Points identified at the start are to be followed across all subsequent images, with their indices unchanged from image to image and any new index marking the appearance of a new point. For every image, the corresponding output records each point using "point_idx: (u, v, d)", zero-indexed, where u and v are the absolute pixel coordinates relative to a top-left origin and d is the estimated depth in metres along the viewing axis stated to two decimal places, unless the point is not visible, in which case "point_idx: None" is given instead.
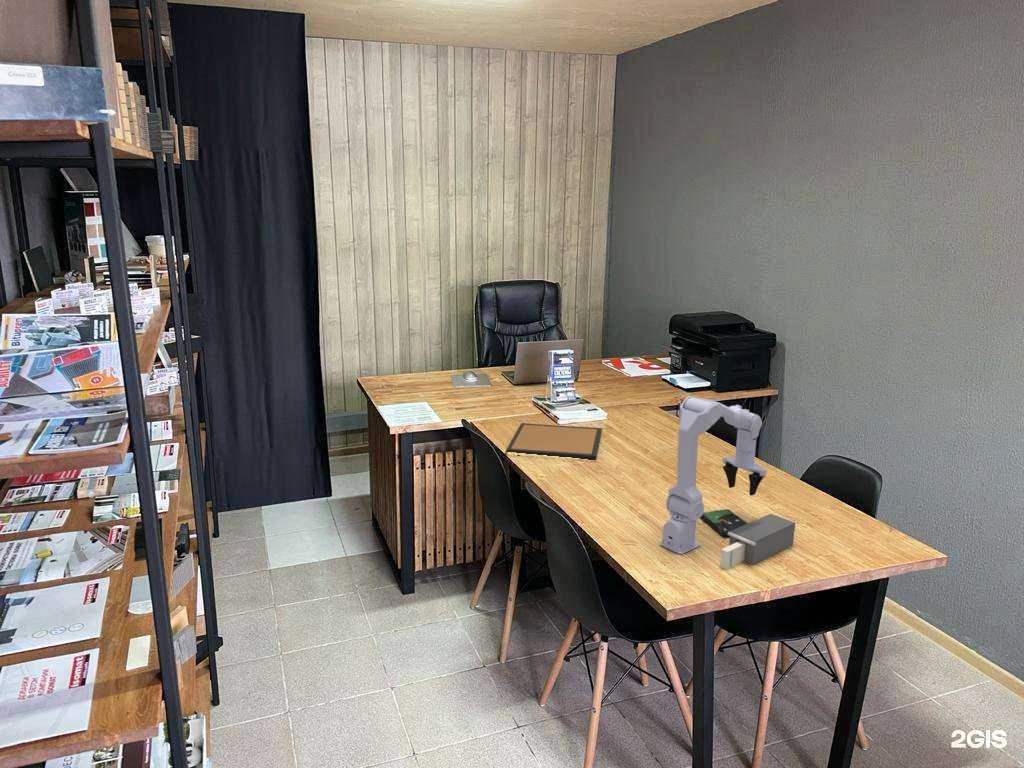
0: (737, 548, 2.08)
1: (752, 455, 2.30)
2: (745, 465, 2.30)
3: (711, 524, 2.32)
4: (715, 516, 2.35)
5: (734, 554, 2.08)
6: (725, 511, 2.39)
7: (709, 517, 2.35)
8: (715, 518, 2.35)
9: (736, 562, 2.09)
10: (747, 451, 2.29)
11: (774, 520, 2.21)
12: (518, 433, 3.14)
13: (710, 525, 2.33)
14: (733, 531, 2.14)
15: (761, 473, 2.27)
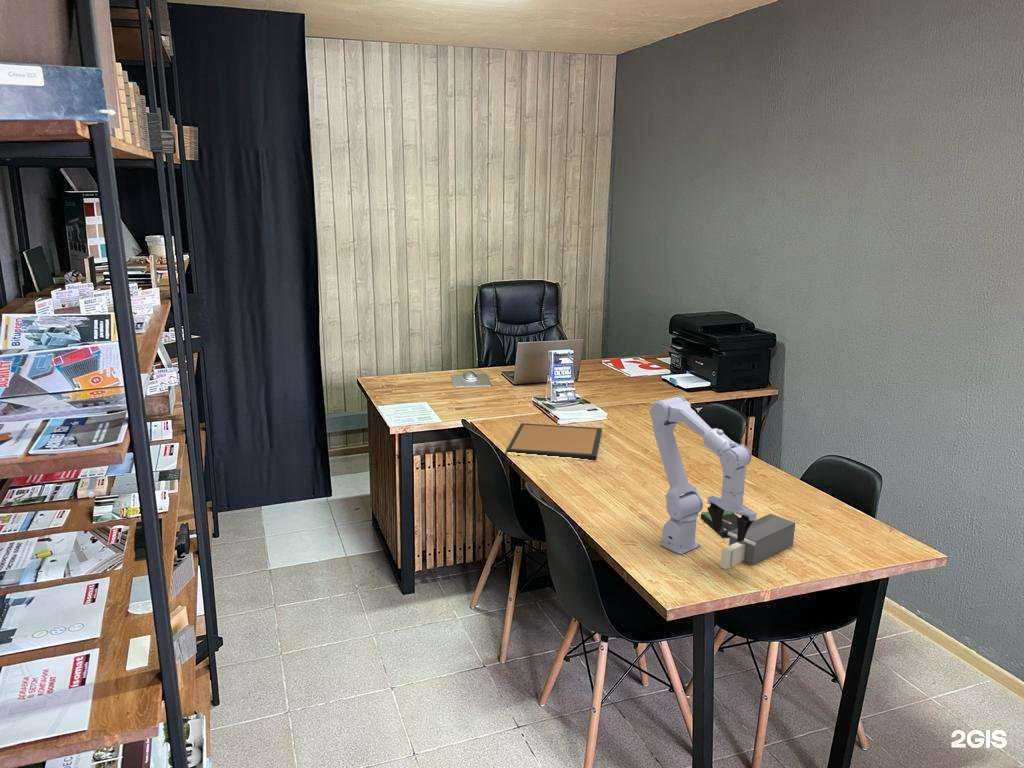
0: (737, 548, 2.08)
1: (740, 496, 2.01)
2: (732, 507, 2.01)
3: (711, 523, 2.32)
4: None
5: (734, 554, 2.08)
6: (726, 511, 2.39)
7: (709, 517, 2.35)
8: None
9: (736, 562, 2.09)
10: (722, 487, 2.03)
11: (774, 520, 2.21)
12: (518, 433, 3.14)
13: (710, 525, 2.33)
14: (733, 531, 2.14)
15: (750, 517, 1.98)
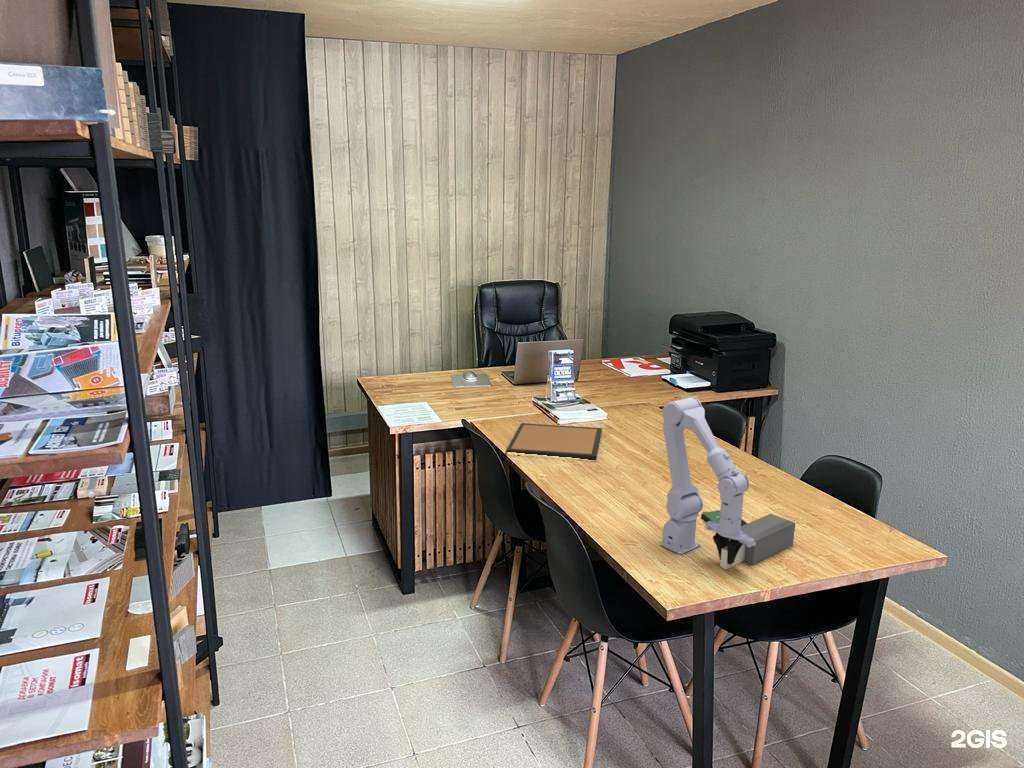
0: None
1: (738, 523, 2.03)
2: (730, 534, 2.03)
3: None
4: (716, 516, 2.35)
5: None
6: None
7: (709, 517, 2.35)
8: (716, 517, 2.35)
9: (736, 561, 2.09)
10: (720, 513, 2.05)
11: (774, 520, 2.21)
12: (518, 433, 3.14)
13: None
14: None
15: (748, 544, 2.00)
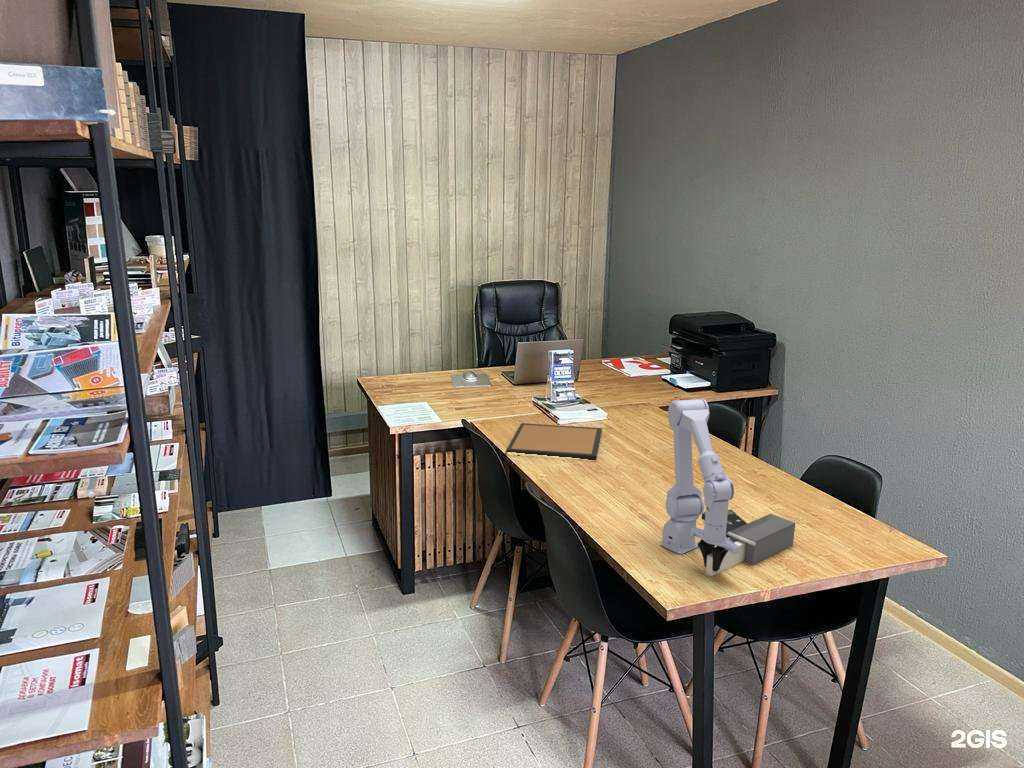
0: None
1: (723, 529, 1.99)
2: (715, 540, 1.99)
3: None
4: None
5: None
6: None
7: None
8: None
9: (722, 568, 2.06)
10: None
11: (774, 520, 2.21)
12: (518, 433, 3.14)
13: None
14: (733, 531, 2.14)
15: (733, 551, 1.96)
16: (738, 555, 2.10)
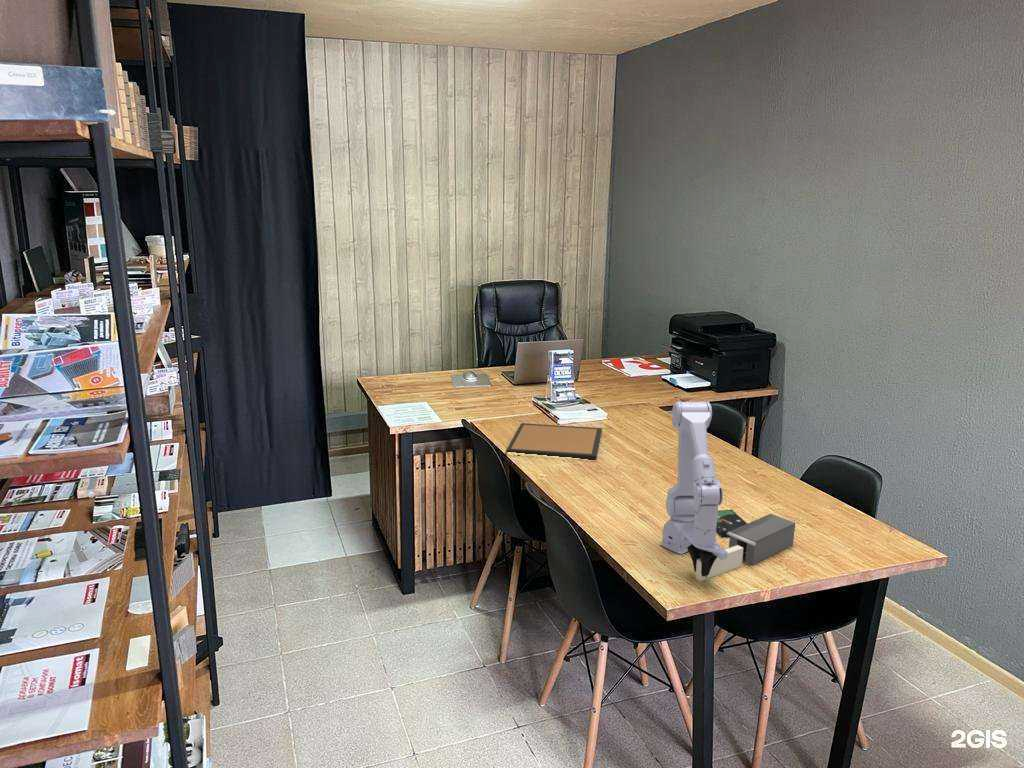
0: None
1: (712, 534, 1.96)
2: (703, 545, 1.96)
3: None
4: None
5: None
6: (728, 511, 2.39)
7: None
8: None
9: (713, 573, 2.03)
10: None
11: (774, 520, 2.21)
12: (518, 433, 3.14)
13: None
14: (733, 531, 2.14)
15: (720, 556, 1.93)
16: (732, 561, 2.06)
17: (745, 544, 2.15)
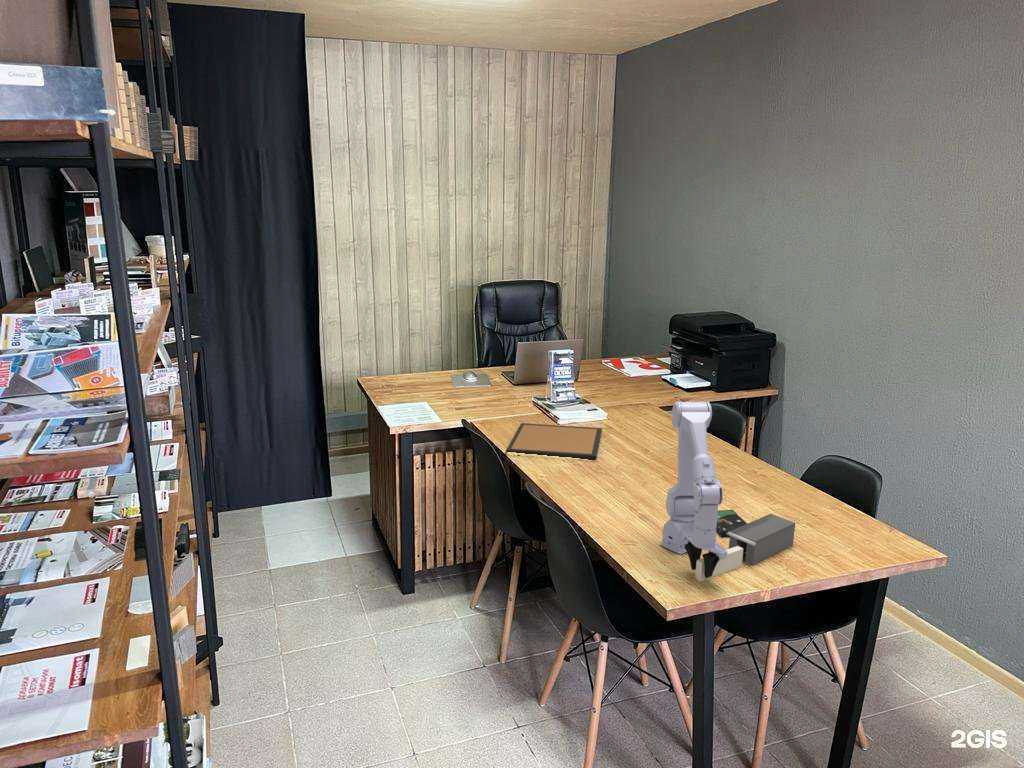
0: None
1: (712, 533, 1.96)
2: (703, 545, 1.96)
3: None
4: (717, 516, 2.36)
5: None
6: (728, 511, 2.39)
7: None
8: (717, 517, 2.35)
9: (713, 574, 2.03)
10: None
11: (774, 520, 2.21)
12: (518, 433, 3.14)
13: None
14: (733, 531, 2.14)
15: (720, 556, 1.93)
16: (732, 562, 2.06)
17: (745, 544, 2.15)
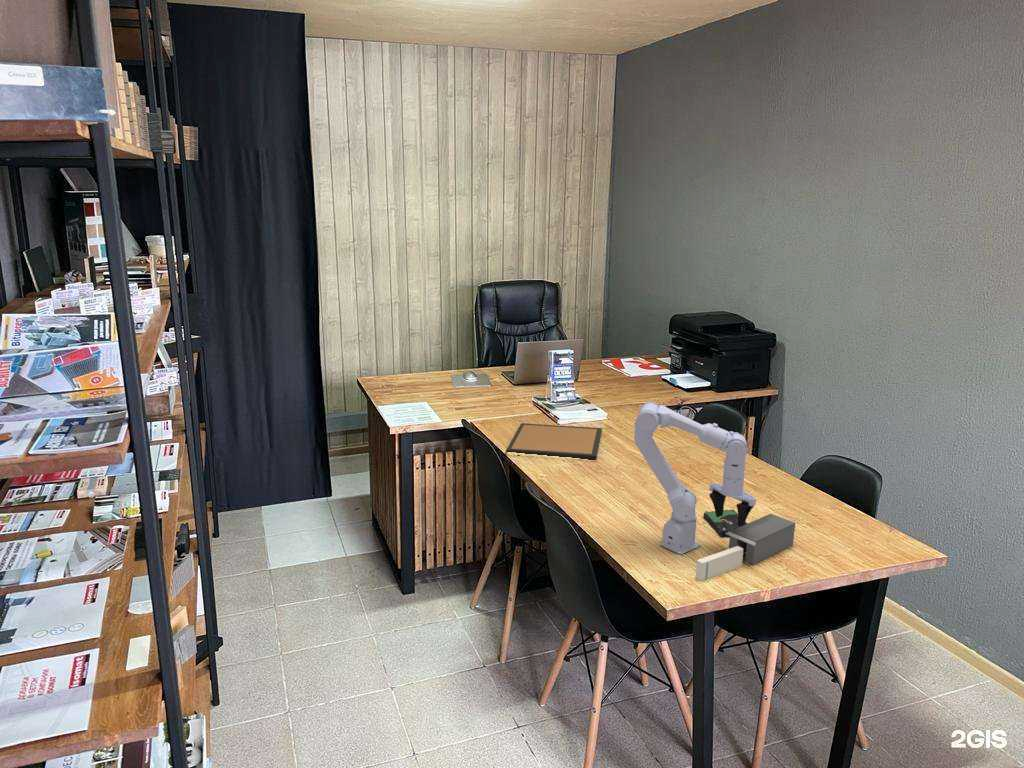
0: (714, 560, 2.02)
1: (740, 482, 2.10)
2: (733, 493, 2.10)
3: (712, 523, 2.32)
4: None
5: (711, 566, 2.01)
6: (729, 511, 2.39)
7: (711, 516, 2.35)
8: (717, 517, 2.35)
9: (713, 574, 2.03)
10: (726, 476, 2.10)
11: (774, 520, 2.21)
12: (518, 433, 3.14)
13: (711, 524, 2.33)
14: (733, 531, 2.14)
15: (750, 503, 2.07)
16: (732, 562, 2.06)
17: (745, 544, 2.15)
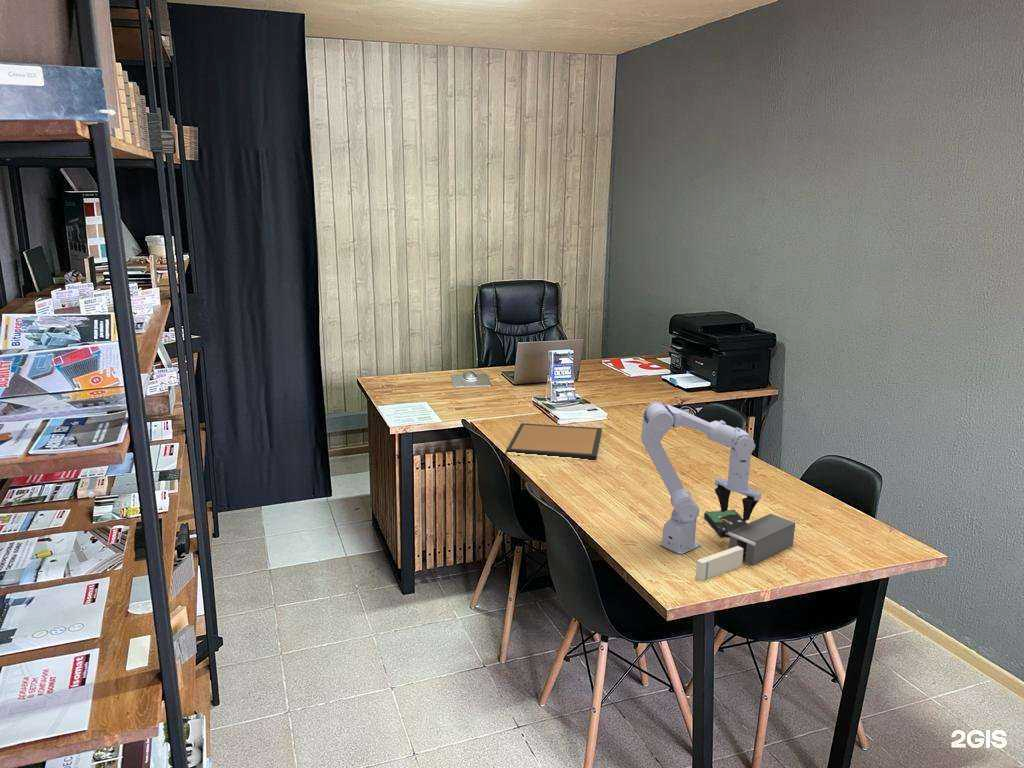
0: (714, 560, 2.02)
1: (746, 478, 2.13)
2: (738, 488, 2.14)
3: (712, 523, 2.33)
4: (718, 516, 2.36)
5: (711, 566, 2.01)
6: (730, 511, 2.39)
7: (711, 516, 2.35)
8: (717, 517, 2.35)
9: (713, 574, 2.03)
10: (734, 472, 2.13)
11: (774, 520, 2.21)
12: (518, 433, 3.14)
13: (711, 524, 2.33)
14: (733, 531, 2.14)
15: (755, 497, 2.11)
16: (732, 562, 2.06)
17: (745, 544, 2.15)
